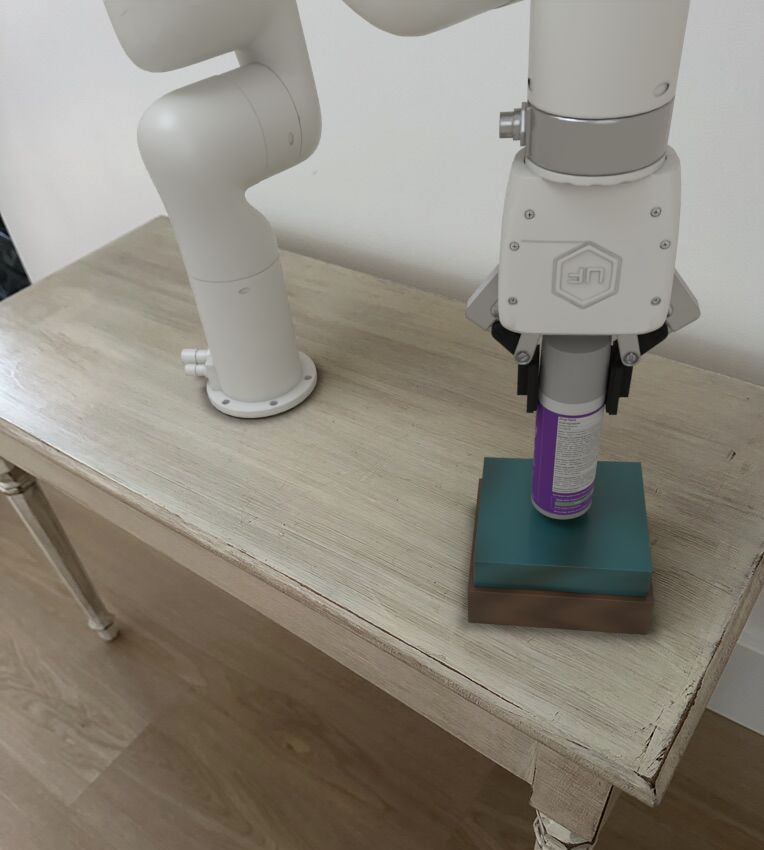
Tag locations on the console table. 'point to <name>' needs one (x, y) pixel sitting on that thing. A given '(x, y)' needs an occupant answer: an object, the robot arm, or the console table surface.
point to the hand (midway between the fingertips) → (570, 399)
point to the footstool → (561, 553)
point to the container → (569, 422)
